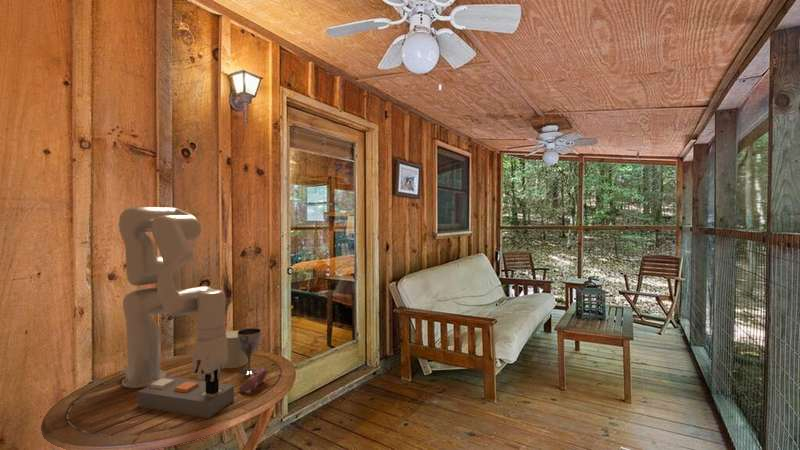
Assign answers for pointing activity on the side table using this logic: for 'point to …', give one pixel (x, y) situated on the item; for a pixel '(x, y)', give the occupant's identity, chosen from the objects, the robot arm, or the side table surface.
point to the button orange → (186, 387)
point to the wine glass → (249, 346)
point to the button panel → (186, 399)
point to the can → (234, 351)
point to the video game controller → (254, 380)
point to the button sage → (210, 394)
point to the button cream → (162, 383)
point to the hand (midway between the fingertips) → (212, 392)
